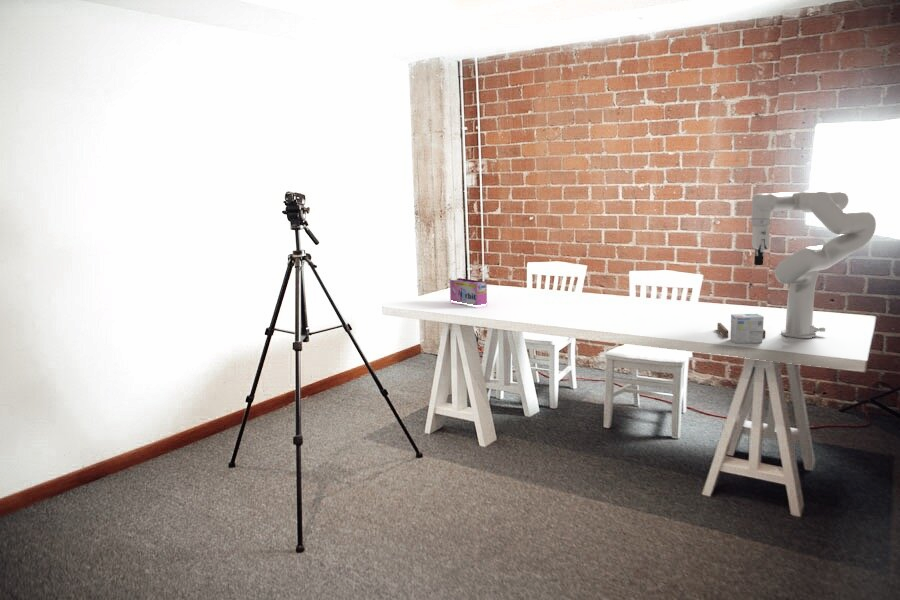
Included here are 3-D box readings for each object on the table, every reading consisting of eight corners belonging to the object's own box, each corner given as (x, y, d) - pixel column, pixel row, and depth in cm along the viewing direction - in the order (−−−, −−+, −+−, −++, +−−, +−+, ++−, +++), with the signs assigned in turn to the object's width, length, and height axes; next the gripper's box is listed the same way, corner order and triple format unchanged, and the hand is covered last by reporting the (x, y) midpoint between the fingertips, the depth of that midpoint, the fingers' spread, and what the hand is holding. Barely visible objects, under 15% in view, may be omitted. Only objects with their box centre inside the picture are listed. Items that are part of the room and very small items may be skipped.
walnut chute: (755, 329, 276) (755, 323, 275) (765, 338, 262) (765, 331, 261) (717, 329, 279) (717, 322, 278) (725, 337, 265) (725, 330, 264)
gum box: (448, 303, 364) (447, 279, 361) (458, 301, 369) (458, 277, 366) (477, 308, 346) (476, 283, 343) (487, 306, 351) (487, 281, 348)
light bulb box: (756, 339, 261) (757, 313, 259) (763, 343, 254) (764, 316, 253) (729, 339, 262) (730, 313, 260) (735, 343, 255) (736, 317, 253)
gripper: (775, 223, 268) (772, 267, 272) (765, 221, 283) (762, 262, 286) (756, 224, 270) (753, 267, 273) (746, 221, 284) (744, 262, 287)
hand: (758, 264), depth 279 cm, fingers closed
